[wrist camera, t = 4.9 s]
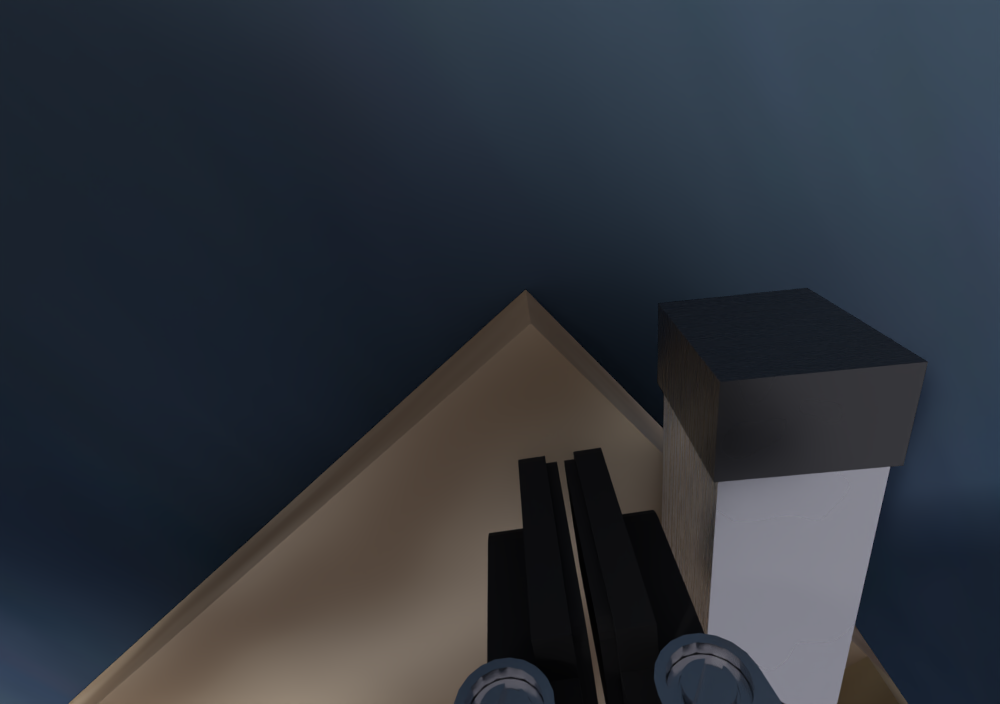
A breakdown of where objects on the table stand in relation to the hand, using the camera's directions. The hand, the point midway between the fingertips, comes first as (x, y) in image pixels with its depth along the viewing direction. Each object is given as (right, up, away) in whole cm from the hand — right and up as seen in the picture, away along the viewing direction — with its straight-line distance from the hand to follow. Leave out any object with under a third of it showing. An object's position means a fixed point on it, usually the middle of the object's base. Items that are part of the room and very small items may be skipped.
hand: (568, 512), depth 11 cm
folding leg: (+3, -2, +1) cm, 4 cm away
